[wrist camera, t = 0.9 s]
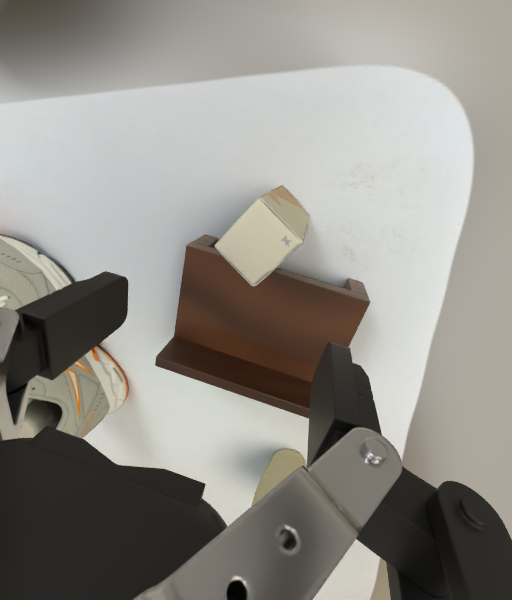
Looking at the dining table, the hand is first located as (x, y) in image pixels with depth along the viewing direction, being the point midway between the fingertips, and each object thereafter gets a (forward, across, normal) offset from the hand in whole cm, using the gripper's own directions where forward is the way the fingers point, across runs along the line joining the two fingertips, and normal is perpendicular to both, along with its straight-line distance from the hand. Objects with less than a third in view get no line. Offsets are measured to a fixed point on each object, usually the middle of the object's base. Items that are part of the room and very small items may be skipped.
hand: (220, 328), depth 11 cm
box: (+21, +1, -1) cm, 21 cm away
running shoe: (+21, +26, +22) cm, 40 cm away
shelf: (+21, -1, +9) cm, 23 cm away
